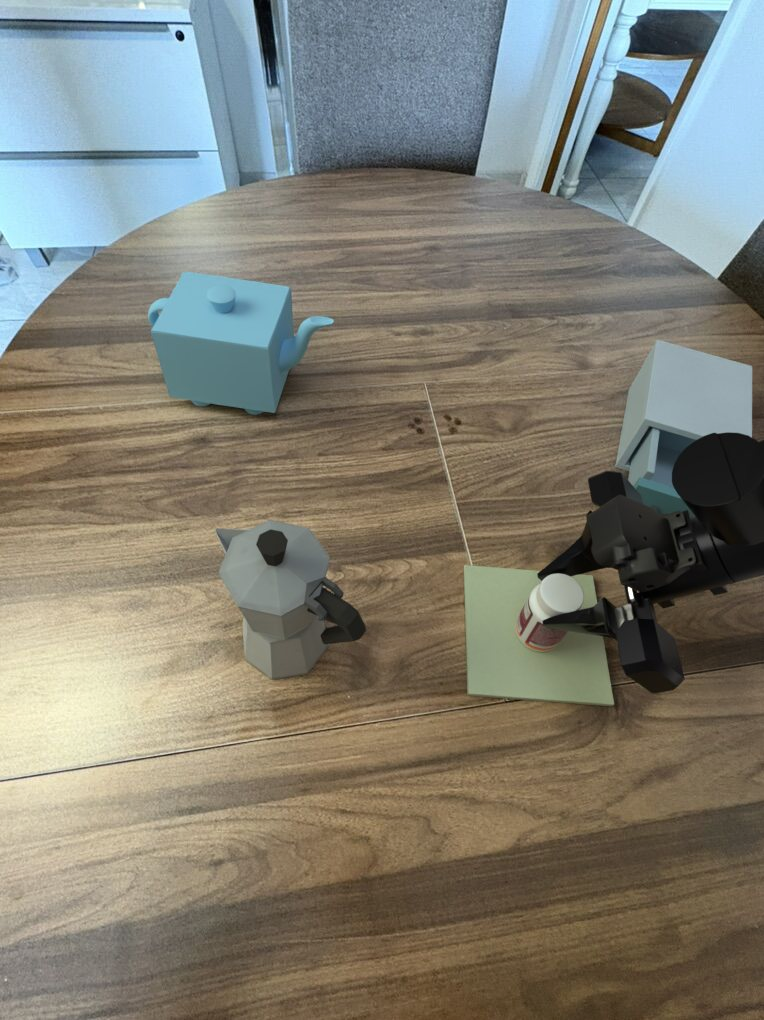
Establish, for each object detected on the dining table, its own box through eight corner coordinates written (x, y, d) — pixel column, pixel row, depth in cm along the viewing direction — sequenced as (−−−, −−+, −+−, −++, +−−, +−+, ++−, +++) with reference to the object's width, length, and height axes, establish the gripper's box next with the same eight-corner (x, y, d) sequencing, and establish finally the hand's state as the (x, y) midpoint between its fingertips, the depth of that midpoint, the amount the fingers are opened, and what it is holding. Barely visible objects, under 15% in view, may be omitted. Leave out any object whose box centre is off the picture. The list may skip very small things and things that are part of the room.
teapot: (150, 403, 76) (120, 311, 65) (179, 345, 83) (156, 252, 71) (324, 430, 76) (324, 342, 65) (340, 369, 82) (342, 279, 71)
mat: (591, 577, 67) (592, 575, 66) (612, 706, 59) (614, 704, 58) (463, 567, 66) (464, 564, 66) (467, 695, 58) (468, 693, 58)
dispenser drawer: (704, 590, 66) (740, 558, 60) (606, 558, 67) (632, 523, 62) (711, 464, 76) (742, 426, 71) (627, 438, 78) (650, 399, 72)
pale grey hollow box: (711, 497, 74) (752, 450, 67) (614, 467, 76) (645, 418, 69) (715, 415, 83) (752, 365, 75) (628, 390, 84) (656, 339, 77)
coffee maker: (205, 636, 60) (165, 538, 45) (263, 572, 64) (245, 463, 49) (328, 726, 56) (329, 650, 41) (382, 650, 60) (400, 558, 45)
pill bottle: (570, 635, 62) (600, 597, 55) (537, 662, 60) (564, 626, 53) (537, 600, 64) (561, 560, 57) (504, 625, 62) (525, 586, 55)
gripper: (655, 403, 48) (488, 478, 57) (718, 621, 38) (500, 672, 46) (704, 472, 55) (547, 530, 64) (769, 675, 44) (570, 710, 53)
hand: (541, 600), depth 57 cm, fingers closed on pill bottle, 4 cm apart
